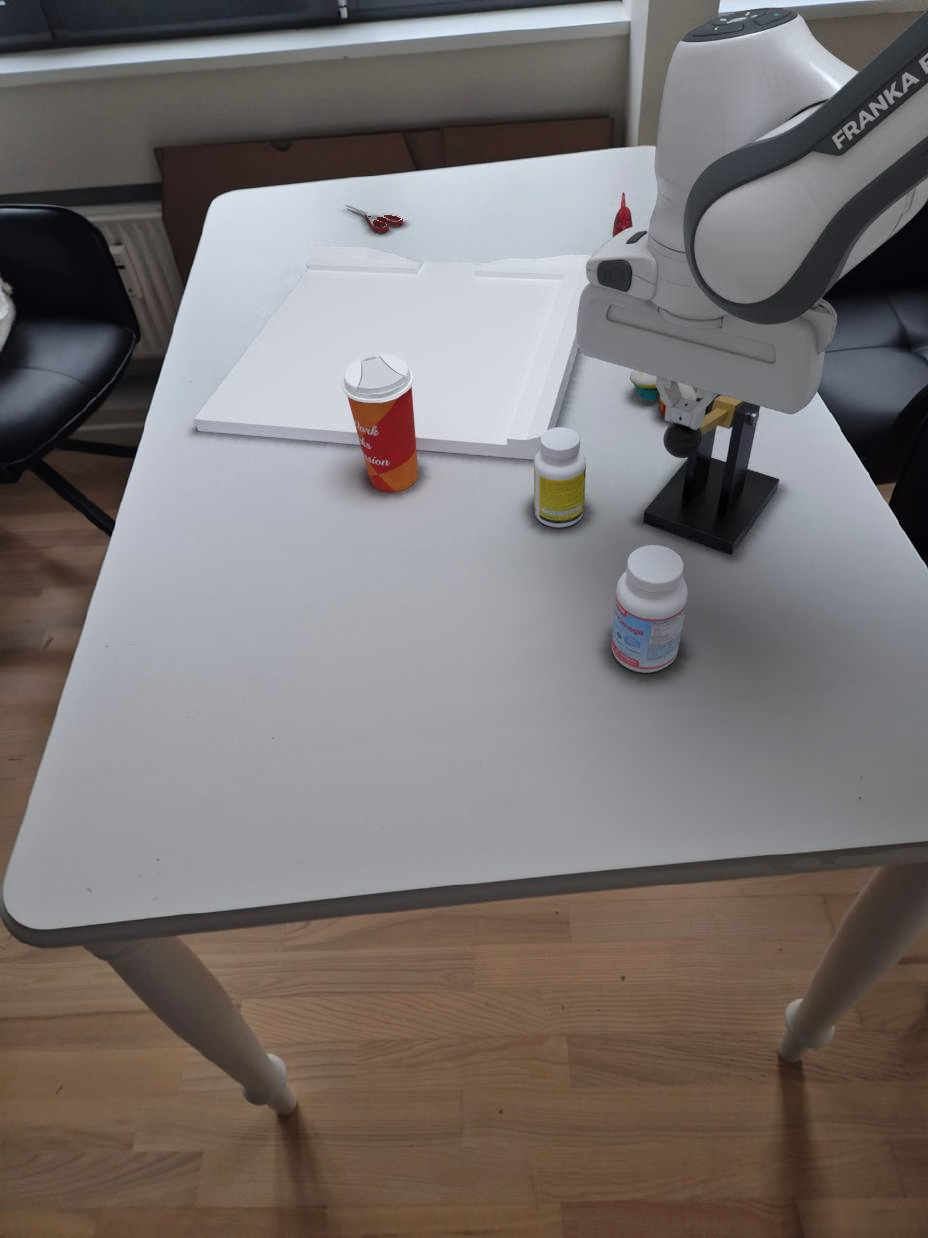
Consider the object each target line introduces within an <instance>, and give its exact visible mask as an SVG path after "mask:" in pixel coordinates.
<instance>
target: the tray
mask: <svg viewBox="0 0 928 1238" xmlns="http://www.w3.org/2000/svg"><path fill="white" fill-rule="evenodd" d="M592 255H593V254H570V253H569V254H563V255H555V256H548V257H541V258H525V257H524V258H523V257H520V258H519V257H504V258H500V259H495V260H489V261H485V262H464V261H462V262H459V261H438V260H437V261H434V260H422V259H418V258H413V257H409V256H403V255H400V254H396V253H395V254H394V253H391V252H386V251H382V250H378V249H375V248H371V247H362V246H361V247H357V246H356V247H355V246H331V245H330V246H329V245H327V246H326V245H315V246H314V247H313V251H312V255H311V257H310V258H309V260H308V261H307V262H306V264H305V266H306V271H305V273H304V274H303V275H302V277H301V278H300V279H299V280H298V282H297V283H296V284H295V286H294V287H293V288H292V289H291V291H290V292H289V293H288V295H287V296H286V298H285V299H284V300H283V301H282V303H281V304H280V305H279V306H278V308H277V309H276V310H275V312H274V313H273V314H272V316H271V317H270V318H269V320H268V321H267V322H266V324H265V325H264V327H262V329H261V330H260V332H259V333H258V334H257V336H256V337H255V338H254V339H253V341H252V342H251V343H250V345H249V346H248V347H247V349H246V350H245V351H244V353H243V354H242V356H240V358H239V359H238V361H237V362H236V363H235V365H233V367H232V369H230V371H229V372H228V374H226V376H225V378H224V379H223V380H222V382H221V383H220V384H219V385H218V387H217V388H216V390H215V391H214V392H213V393H212V395H211V396H210V397H209V399H208V400H207V401H206V403H205V404H204V405H203V406H202V408H201V409H200V411H199V412H198V413H197V415H196V416H194V419H193V420H194V423H195V426H196V429H197V431H198V432H205V433H215V434H227V435H241V436H251V437H262V438H263V437H264V438H275V439H287V440H298V441H299V440H300V441H308V442H309V441H310V442H321V443H333V444H344V445H355V446H361V445H360V441H359V438H358V434H357V430H356V427H355V423H354V419H353V415H352V412H351V408H350V404H349V401H348V397H347V396H346V394H345V393H344V392H343V389H342V383H343V380H344V374H345V371H346V369H347V368H348V367H349V366H350V365H351V364H352V363H353V362H355V361H357V360H359V359H360V362H361V361H362V360H365V359H364V358H368V357H372V356H375V357H379V355H392V356H396V357H399V358H401V359H402V360H404V361H405V362H406V364H407V365H408V368H409V369H410V370H411V372H412V373H413V376H414V382H413V385H412V397H413V410H414V423H415V436H416V450H417V451H425V452H436V453H437V452H439V453H447V454H449V453H450V454H461V455H470V456H471V455H473V456H482V457H484V456H485V457H494V458H507V459H519V460H529V461H530V460H531V461H532V460H533V461H534V459H535V456H536V454H537V453H538V452H539V451H540V450H541V447H540V444H541V436H542V434H543V433H544V432H546V431H547V430H549V429H552V428H557V427H556V426H557V423H558V420H559V417H560V413H561V409H562V407H563V402H564V399H565V395H566V392H567V389H568V385H569V382H570V378H571V375H572V372H573V369H574V364H575V361H576V358H577V354H578V350H579V346H578V344H577V342H576V325H577V314H578V307H579V301H580V296H581V293H582V291H583V289H584V288H585V287H586V286H587V285H588V284H589V283H590V282H589V281H588V279H587V276H586V264H587V261H588V260H589V258H590V257H591V256H592ZM375 359H376V358H375Z"/></svg>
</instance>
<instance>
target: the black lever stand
mask: <svg viewBox="0 0 928 1238" xmlns="http://www.w3.org/2000/svg"><path fill="white" fill-rule="evenodd" d="M719 396H721V395H720V394H718V395H717V396H716V397H715V398H714V399H716V398H717V397H719ZM701 399H702V398H697V399H696V401H697V402H700V401H701ZM714 399H713V400H712V402H711V403H710V404H709V405H708V406H707V407H706V409H705V415H707V414H709V413H710V412H711V410H712V406H713V403H714ZM760 409H761V406H758V405H755V404H751V403H748V402H744V401H743V402H742V403H741V405H740V406H739V407H738V408H737V409H736V411H735V415H734V421H733V426H732V427H731V432H730V438H729V443H728V448H727V449H728V450H727V453H726V459H725V460H722V459H718V458H715V457H713V452H714V451H713V450H714V444H715V439H716V433H717V427H718V426H716V427H715V428H713V429H712V430H710V431H709V432H707V433H706V434H704V435H703V441H702V445H701V447H700V449H699V450H698V451H697V452H696V453H695V454H694V455H692V456H690V457H687V458H686V460H685V461H684V463H683V464H682V465H681V466H680V467H679V468H678V469H677V471H675V473H674V474H673V475H672V477H671V478H670V480H669V481H667V483H666V484H665V485H664V486H663V488H662V489H661V490H660V491H659V492H658V493H657V495H656V496H655V498H653V500H652V501H651V502H650V503H649V505H648V506H647V507H646V508H645V509H644V510H643V518H642V522H643V523H645V524H648V525H651V526H653V527H656V528H659V529H662V530H664V531H667V532H670V533H672V534H675V535H678V536H681V537H683V538H686V539H689V540H692V541H694V542H697V543H700V544H702V545H705V546H708V547H710V548H713V549H716V550H719V551H721V552H724V553H726V554H729V555H732V554H733V553H734V551H735V550H736V549H737V547H738V546H739V544H740V543H741V541H742V540H743V539H744V537H745V535H746V534H747V533H748V532H749V530H750V529H751V527H752V526H753V525H754V523H755V521H756V520H757V519H758V518H759V516H760V514H761V513H762V512H763V510H764V509H765V507H766V506H767V505H768V503H769V502H770V500H771V499H772V497H773V496H774V495H775V493H776V492H777V490H778V487H779V483H780V478H778V477H775V476H771V475H768V474H765V473H762V472H759V471H755V470H752V469H749V463H750V458H751V452H752V448H753V445H754V440H755V439H754V438H755V435H756V430H757V425H758V421H759V417H760Z"/></svg>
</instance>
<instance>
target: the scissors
mask: <svg viewBox="0 0 928 1238" xmlns="http://www.w3.org/2000/svg"><path fill="white" fill-rule="evenodd" d="M345 207H348V208H349V209H351V210H353V211H355V212H356V213H359V214H362V215H363V216H364V217H365V219H366V221H368V223H369V225H370V228H371V229H372V230H373V231H375V232H378V233H385V232H387V231H389V229H390V228H389V225H390V226H393V227H398V226H401V225H403V224H404V218H403V217H402V220H400V219H401V218H399V217H400V216H399V217H397V216H398V215H396V216H392V215H393V214H390V215H384V217H386V218H388V219H390V220H392V221H398V220H400V221H398V222H392V221H389V220H387V219H386V218H383V217H377V220H379V221H377V220H374V221H373V224H374V225H375V226H377V227H384V226H386V224H385V223H387V226H386V227H384V228H377V227H375V226H373V225H372V224H371V222H370V220H369V218H368V217H371V216H368V217H367V215H366V213H367V211H363V210H361V209H358V208H356V207H354V206H351V205H348V204H345ZM380 221H382V222H380ZM383 222H385V223H383Z"/></svg>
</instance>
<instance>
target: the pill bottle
mask: <svg viewBox="0 0 928 1238" xmlns="http://www.w3.org/2000/svg"><path fill="white" fill-rule="evenodd" d="M684 568H685V567H684V561H683V559H682V557H681V556H680V555H679V553H677V551H675V550H673V549H671V548H669V547H667V546H663V545H659V544H649V545H644V546H640V547H638V548H636V549H634V550H633V551H632V552H631V553H630V555H629V556H628V558H627V561H626V568H625V571H624V572H623V573H622V575H621V576H620V577H619V580H618V582H617V584H616V589H615V599H614V611H613V620H612V621H613V622H612V632H611V633H612V634H611V650H612V654H613V656H614V657H615V659H616V660H617V662H619V663H620V665H622V666H623V667H625V668H627V669H629V670H631V671H633V672H637V673H644V674H645V673H646V674H647V673H655V672H658V671H661V670H663V669H665V668H667V667H668V666H669V665H671V664H672V663H673V662H674V661H675V660H676V658H677V655H678V653H679V648H680V642H681V637H682V630H683V625H684V619H685V612H686V608H687V602H688V593H689V590H688V585H687V583H686V581H685V579H684Z"/></svg>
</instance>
